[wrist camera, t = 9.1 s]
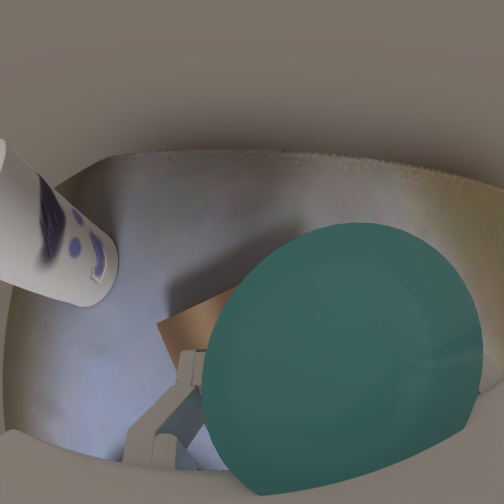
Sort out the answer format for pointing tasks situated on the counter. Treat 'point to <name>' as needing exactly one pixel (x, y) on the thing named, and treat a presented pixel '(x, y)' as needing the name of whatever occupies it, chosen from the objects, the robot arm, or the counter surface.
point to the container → (49, 239)
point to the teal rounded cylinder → (340, 359)
